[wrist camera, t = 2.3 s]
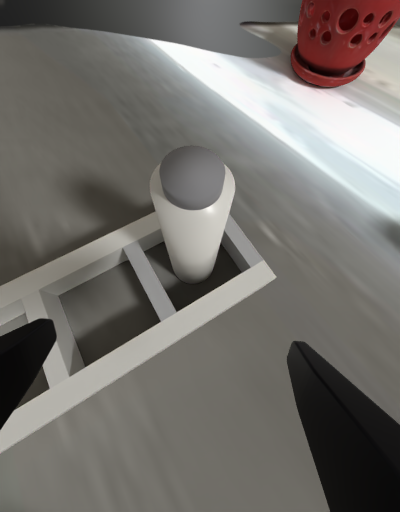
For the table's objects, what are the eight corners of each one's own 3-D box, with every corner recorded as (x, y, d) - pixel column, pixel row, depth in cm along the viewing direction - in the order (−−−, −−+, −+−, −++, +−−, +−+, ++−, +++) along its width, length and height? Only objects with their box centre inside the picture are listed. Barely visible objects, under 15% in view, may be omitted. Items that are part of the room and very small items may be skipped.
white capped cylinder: (221, 270, 23) (257, 184, 10) (185, 291, 22) (174, 227, 9) (200, 238, 25) (207, 125, 12) (165, 257, 24) (130, 157, 11)
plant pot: (348, 48, 39) (410, -69, 28) (367, 97, 34) (451, -20, 23) (276, 45, 39) (310, -74, 28) (286, 94, 34) (331, -25, 23)
